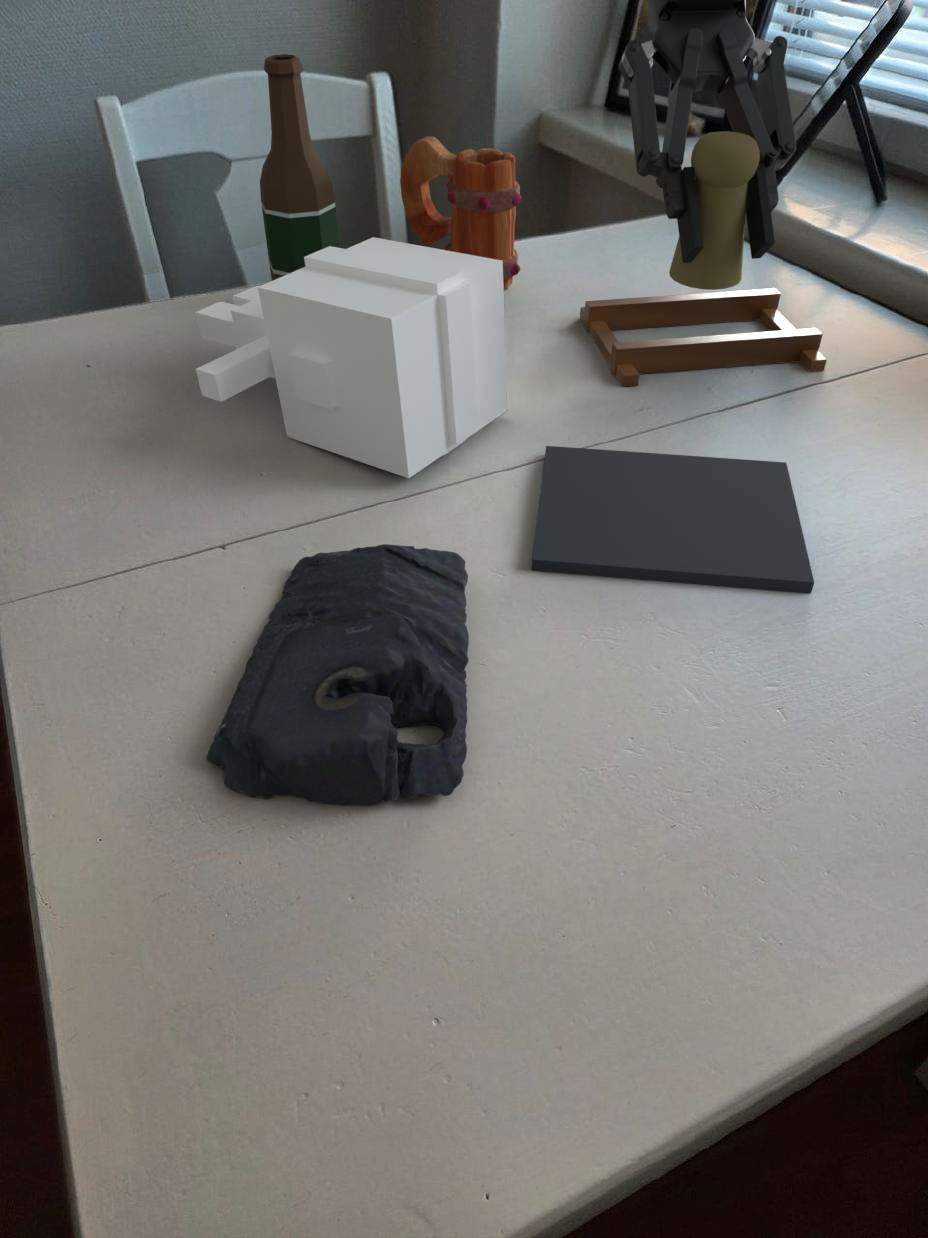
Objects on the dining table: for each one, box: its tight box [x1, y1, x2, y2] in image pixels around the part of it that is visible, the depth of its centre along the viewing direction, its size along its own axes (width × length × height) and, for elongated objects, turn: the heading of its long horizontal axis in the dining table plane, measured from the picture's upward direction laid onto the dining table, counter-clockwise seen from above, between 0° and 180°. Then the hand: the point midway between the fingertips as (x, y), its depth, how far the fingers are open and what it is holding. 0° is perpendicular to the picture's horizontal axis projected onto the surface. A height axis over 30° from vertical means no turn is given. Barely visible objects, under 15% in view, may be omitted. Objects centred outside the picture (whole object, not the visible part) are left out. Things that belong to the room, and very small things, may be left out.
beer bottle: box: [259, 53, 340, 281], centre depth 97 cm, size 8×8×24 cm
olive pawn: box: [668, 130, 760, 291], centre depth 77 cm, size 6×6×11 cm
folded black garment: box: [205, 543, 470, 807], centre depth 60 cm, size 15×22×5 cm
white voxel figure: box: [194, 236, 509, 479], centre depth 83 cm, size 15×25×28 cm
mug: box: [399, 135, 523, 291], centre depth 104 cm, size 15×8×15 cm, turn 59°
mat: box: [530, 445, 815, 594], centre depth 74 cm, size 20×16×1 cm
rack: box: [579, 287, 828, 388], centre depth 97 cm, size 16×21×3 cm
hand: (728, 252), depth 76 cm, fingers closed on olive pawn, 5 cm apart
